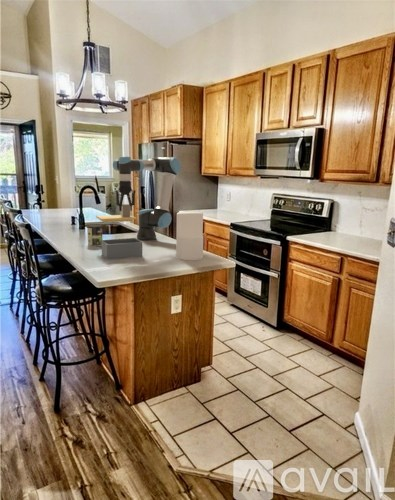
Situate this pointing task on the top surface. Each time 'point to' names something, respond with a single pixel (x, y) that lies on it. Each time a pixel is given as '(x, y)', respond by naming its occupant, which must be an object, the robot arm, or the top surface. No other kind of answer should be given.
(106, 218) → the lid
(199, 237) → the cylinder
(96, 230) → the coffee can
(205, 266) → the top surface
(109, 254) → the tub
